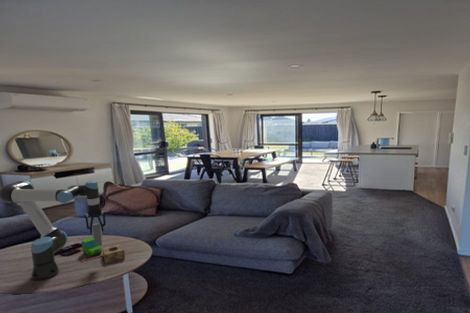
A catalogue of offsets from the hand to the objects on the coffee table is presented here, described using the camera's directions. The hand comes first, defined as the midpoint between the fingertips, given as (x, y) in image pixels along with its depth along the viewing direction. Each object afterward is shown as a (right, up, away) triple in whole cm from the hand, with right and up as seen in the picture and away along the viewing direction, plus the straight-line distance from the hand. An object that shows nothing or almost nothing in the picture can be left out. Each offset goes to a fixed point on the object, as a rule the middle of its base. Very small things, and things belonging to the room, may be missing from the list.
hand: (97, 236), depth 203 cm
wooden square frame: (+7, -18, +11) cm, 22 cm away
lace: (-8, -18, +11) cm, 23 cm away
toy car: (-12, -18, +18) cm, 28 cm away
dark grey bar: (0, -6, +1) cm, 6 cm away
